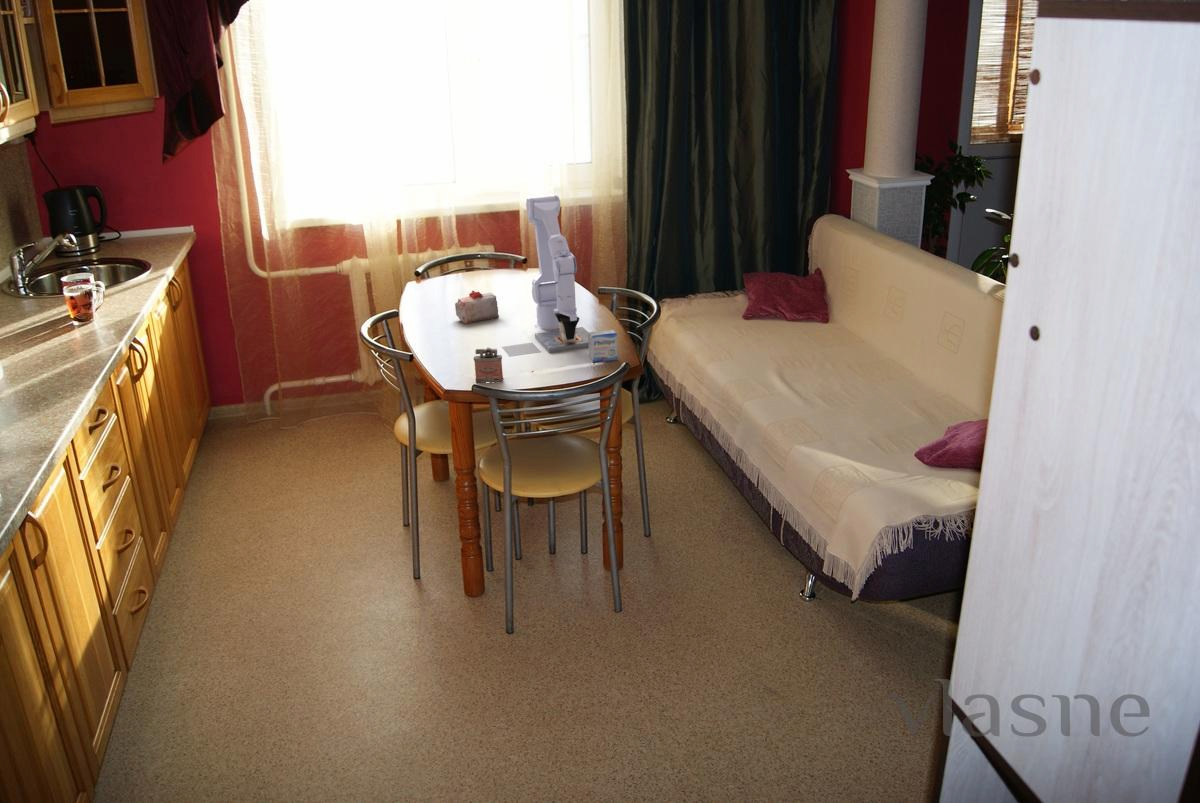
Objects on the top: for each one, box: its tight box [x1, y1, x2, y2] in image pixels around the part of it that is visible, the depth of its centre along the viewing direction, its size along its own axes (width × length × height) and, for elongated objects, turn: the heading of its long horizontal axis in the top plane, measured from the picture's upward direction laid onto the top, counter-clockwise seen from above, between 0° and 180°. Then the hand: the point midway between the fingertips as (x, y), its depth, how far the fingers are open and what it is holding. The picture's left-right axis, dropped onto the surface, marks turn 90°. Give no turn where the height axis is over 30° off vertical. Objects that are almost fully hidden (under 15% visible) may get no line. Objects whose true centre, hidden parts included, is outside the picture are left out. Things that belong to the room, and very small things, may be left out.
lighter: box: [473, 347, 505, 385], centre depth 289 cm, size 8×3×10 cm, turn 92°
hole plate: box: [534, 326, 589, 354], centre depth 318 cm, size 16×16×3 cm
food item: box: [454, 290, 500, 325], centre depth 346 cm, size 14×8×10 cm, turn 119°
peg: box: [558, 322, 576, 343], centre depth 315 cm, size 4×4×6 cm
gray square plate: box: [501, 342, 542, 357], centre depth 313 cm, size 10×10×1 cm
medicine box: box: [588, 329, 618, 364], centre depth 303 cm, size 8×4×9 cm, turn 105°
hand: (568, 336), depth 316 cm, fingers closed on peg, 4 cm apart
